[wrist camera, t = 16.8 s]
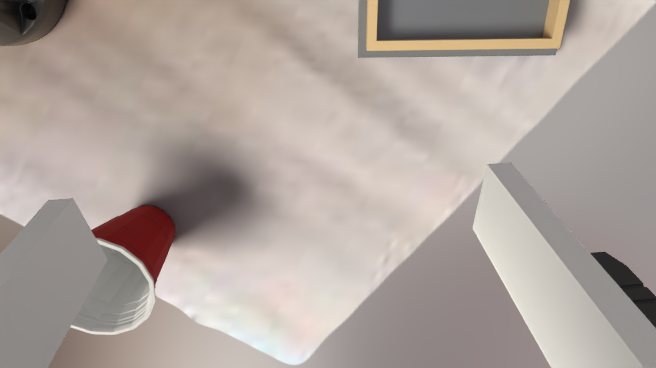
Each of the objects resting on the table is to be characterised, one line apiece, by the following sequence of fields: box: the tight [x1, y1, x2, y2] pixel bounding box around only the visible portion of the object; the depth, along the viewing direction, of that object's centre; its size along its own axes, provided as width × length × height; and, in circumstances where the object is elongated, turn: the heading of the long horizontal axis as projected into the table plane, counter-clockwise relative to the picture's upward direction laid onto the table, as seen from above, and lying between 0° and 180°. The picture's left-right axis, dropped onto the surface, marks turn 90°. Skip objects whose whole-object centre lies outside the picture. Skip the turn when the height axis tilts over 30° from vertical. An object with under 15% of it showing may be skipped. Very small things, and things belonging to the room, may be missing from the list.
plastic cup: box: [71, 206, 175, 335], centre depth 39 cm, size 11×11×12 cm
